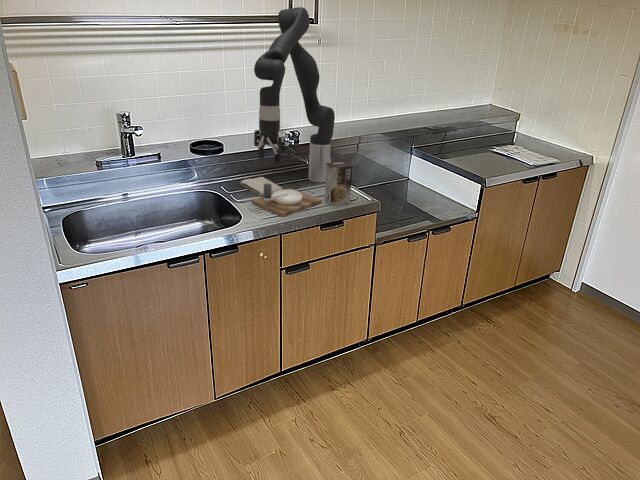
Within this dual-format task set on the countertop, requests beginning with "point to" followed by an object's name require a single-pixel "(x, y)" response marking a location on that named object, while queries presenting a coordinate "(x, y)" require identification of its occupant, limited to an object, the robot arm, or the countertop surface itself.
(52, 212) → the countertop surface
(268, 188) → the dial
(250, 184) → the washcloth
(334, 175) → the coffee box
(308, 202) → the dial board
